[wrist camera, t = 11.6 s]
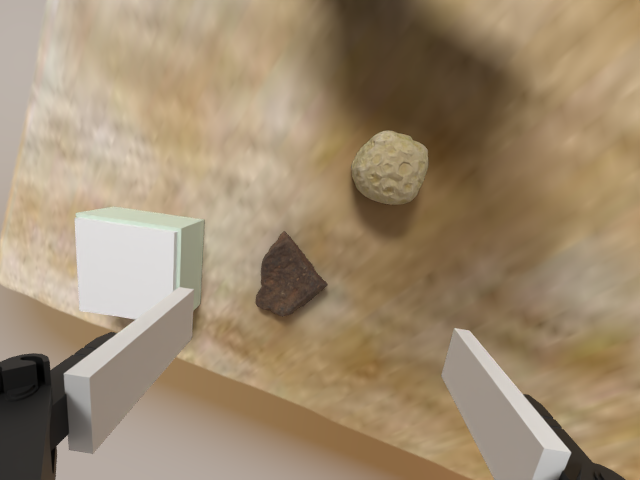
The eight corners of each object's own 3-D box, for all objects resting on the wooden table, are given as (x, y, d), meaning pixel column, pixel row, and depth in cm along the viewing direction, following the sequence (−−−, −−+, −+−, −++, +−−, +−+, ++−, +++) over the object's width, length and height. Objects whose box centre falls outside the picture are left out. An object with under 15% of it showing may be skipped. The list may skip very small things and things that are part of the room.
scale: (114, 206, 46) (70, 213, 38) (204, 219, 46) (178, 229, 38) (116, 296, 49) (76, 319, 42) (200, 309, 49) (175, 334, 42)
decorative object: (392, 202, 47) (449, 198, 39) (340, 211, 42) (394, 208, 33) (386, 140, 46) (445, 122, 37) (332, 141, 40) (386, 121, 32)
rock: (285, 228, 45) (281, 234, 42) (331, 278, 47) (330, 288, 43) (233, 274, 47) (226, 283, 44) (279, 320, 49) (274, 332, 45)
